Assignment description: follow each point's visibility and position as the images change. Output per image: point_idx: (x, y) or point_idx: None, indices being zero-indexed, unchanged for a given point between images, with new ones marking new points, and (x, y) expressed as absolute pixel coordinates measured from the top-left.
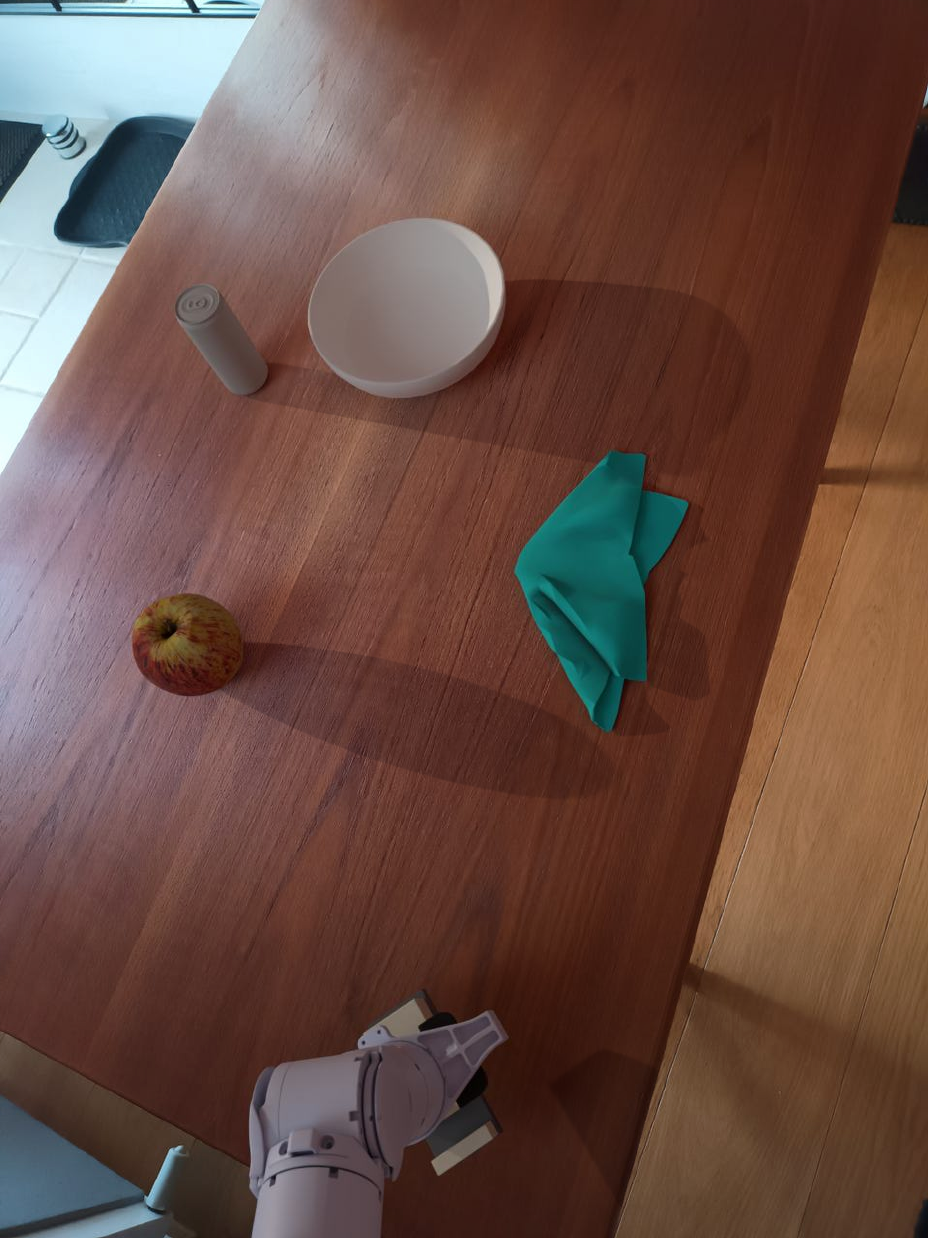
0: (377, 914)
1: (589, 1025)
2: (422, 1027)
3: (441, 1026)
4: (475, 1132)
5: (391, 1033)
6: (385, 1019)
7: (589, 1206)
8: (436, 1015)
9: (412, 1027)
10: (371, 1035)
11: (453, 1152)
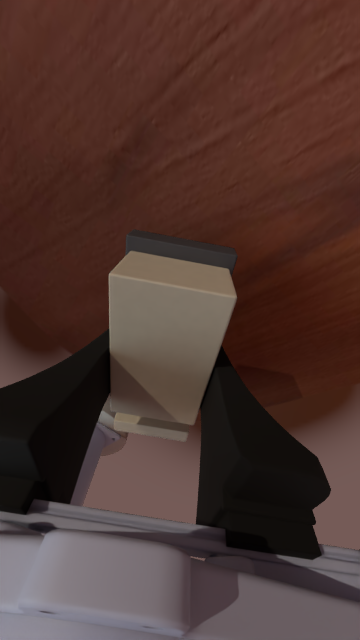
0: (247, 46)
1: (303, 359)
2: (254, 472)
3: (289, 490)
4: (174, 431)
5: (158, 310)
6: (164, 285)
7: (197, 416)
8: (306, 477)
9: (197, 329)
10: (107, 620)
11: (141, 428)
